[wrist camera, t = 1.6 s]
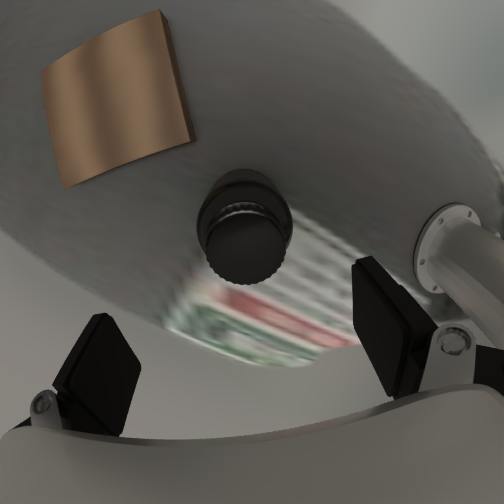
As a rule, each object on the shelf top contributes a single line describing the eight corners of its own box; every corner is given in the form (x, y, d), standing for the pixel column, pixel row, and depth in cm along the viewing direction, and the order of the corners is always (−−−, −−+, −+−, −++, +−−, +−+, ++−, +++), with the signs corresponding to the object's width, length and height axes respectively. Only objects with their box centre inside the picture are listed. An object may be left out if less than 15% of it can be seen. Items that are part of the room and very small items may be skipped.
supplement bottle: (278, 233, 28) (300, 299, 17) (211, 235, 28) (192, 303, 17) (278, 166, 25) (305, 190, 14) (207, 168, 25) (178, 195, 14)
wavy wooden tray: (167, 19, 18) (159, 8, 16) (196, 140, 24) (190, 141, 21) (56, 74, 19) (40, 72, 17) (79, 183, 25) (64, 189, 22)
